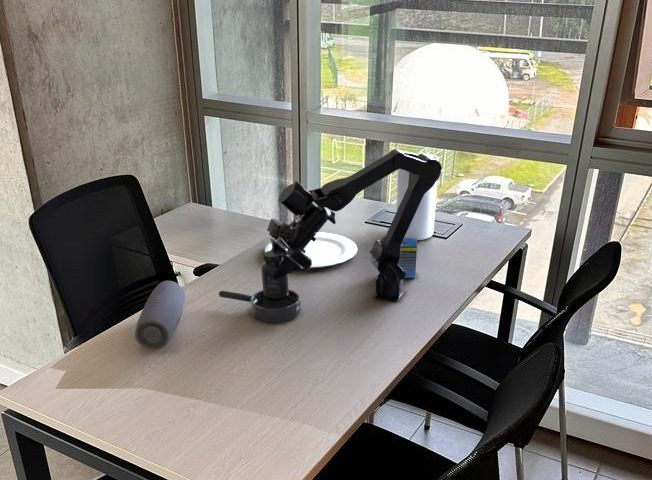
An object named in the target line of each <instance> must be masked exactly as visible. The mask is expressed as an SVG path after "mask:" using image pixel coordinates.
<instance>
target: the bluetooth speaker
mask: <svg viewBox="0 0 652 480" xmlns="http://www.w3.org/2000/svg"><path fill="white" fill-rule="evenodd" d="M185 302H186V293H185V290H184V289H183V287H182V286H181V285H180V284H179V283H178V282H176V281H173V280H163V281H160V282H159V283H158V284H157V285H156V286H155V288H154V289H153V290H152V292H151V293H150V295H149V296H148V298H147V300H146V302H145V303H144V306H143V308H142V310H141V313H140V315H139V318H138V320H137V322H136V326H135V330H134V337H135V339H136V342H137V343H138V344H139V345H140V346H141V347H142V348H144V349H147V350H151V351H157V350H161V349H162V350H163V348H165V347H166V346H167V344H168V343H169V342H170V340H171V339H172V337H173V335H174V333H175V330H176V329H177V327H178V325H179V323H180V320H181V317H182V313H183V310H184V305H185Z"/></svg>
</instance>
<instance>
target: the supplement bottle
mask: <svg viewBox="0 0 652 480" xmlns="http://www.w3.org/2000/svg"><path fill="white" fill-rule="evenodd" d="M263 261H264V262H263V263H262V264H261V266H260V270H261V271H260V273H261V284H262V290H263V296H264V298H265V299H267V300H270V301H279V300H283V299H285V298H287V297H288V295H289V290H290V287H289V274H287V275H285V276H283V277H281V278H279V279H277V280H274V279H273V278H272V277H273V275H274V273H275V272H276V270H277V268H278V267H279V265H280V264H281V262H282V261H283V255H282V252H281V251H278V250H271V251H267V252H265V251H264V253H263Z"/></svg>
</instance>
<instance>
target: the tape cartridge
mask: <svg viewBox="0 0 652 480" xmlns="http://www.w3.org/2000/svg"><path fill="white" fill-rule="evenodd" d="M417 256H418V240H417V238H404V239H403V242H402V244H401V255H400V260H399V263H398V265H399V266H400V267H401V268H402V269H403V270H404V271H405V272H406V275H405V277H404V279H416V277H417V259H418V258H417Z"/></svg>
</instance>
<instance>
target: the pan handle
mask: <svg viewBox="0 0 652 480" xmlns="http://www.w3.org/2000/svg"><path fill="white" fill-rule="evenodd" d="M253 295H254V294H246V293H239V292H233V291H228V290H227V291H226V290H220V291H219V292H218V296H219V297H220V298H224V299H230V300H235V301H243V302H249V303H251V302H250V300H251V297H252V296H253Z"/></svg>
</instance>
